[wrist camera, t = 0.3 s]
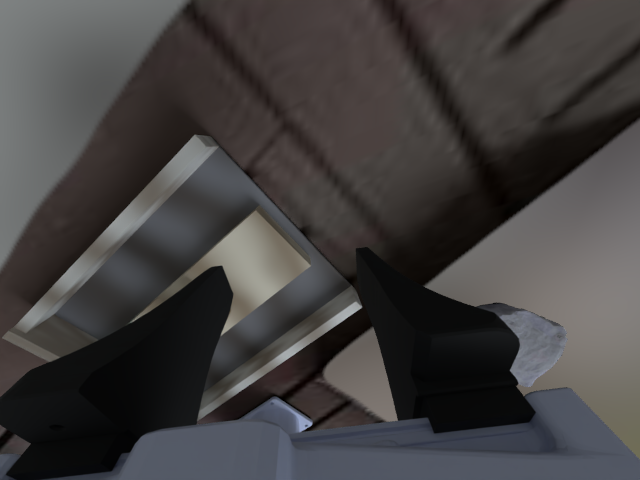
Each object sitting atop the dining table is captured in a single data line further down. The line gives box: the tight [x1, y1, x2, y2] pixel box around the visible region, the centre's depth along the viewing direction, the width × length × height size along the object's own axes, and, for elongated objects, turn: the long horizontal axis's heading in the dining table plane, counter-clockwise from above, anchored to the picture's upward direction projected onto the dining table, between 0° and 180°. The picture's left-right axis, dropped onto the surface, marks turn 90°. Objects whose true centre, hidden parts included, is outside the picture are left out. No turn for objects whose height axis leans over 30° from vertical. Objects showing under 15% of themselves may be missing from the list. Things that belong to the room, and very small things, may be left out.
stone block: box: [477, 302, 568, 387], centre depth 28 cm, size 12×5×10 cm
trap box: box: [2, 135, 362, 421], centre depth 23 cm, size 26×20×3 cm
